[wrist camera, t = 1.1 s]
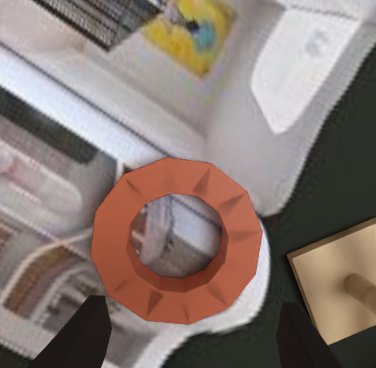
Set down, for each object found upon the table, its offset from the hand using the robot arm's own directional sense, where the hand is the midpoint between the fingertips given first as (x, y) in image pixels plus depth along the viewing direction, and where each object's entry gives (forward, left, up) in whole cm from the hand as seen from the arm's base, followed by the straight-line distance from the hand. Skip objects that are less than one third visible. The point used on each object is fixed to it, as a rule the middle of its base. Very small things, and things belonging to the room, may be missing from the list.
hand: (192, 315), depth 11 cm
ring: (0, +1, -11) cm, 11 cm away
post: (+11, -8, -11) cm, 18 cm away
